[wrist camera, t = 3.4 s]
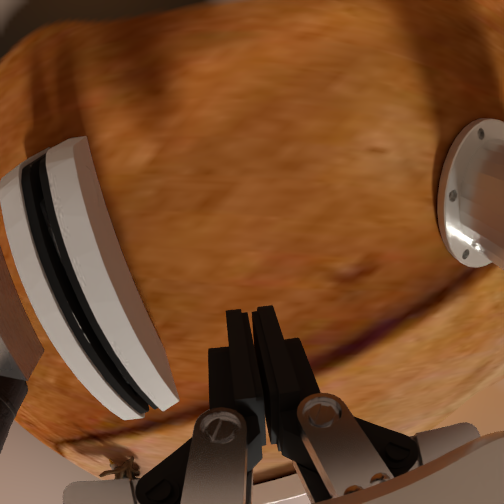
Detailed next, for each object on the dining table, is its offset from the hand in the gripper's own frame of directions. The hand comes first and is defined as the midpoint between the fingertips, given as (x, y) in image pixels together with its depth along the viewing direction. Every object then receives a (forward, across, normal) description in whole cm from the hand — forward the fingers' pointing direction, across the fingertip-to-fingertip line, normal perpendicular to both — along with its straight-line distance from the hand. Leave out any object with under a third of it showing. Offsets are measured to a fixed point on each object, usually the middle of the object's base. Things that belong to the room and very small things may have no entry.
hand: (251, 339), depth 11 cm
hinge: (+9, +8, 0) cm, 12 cm away
